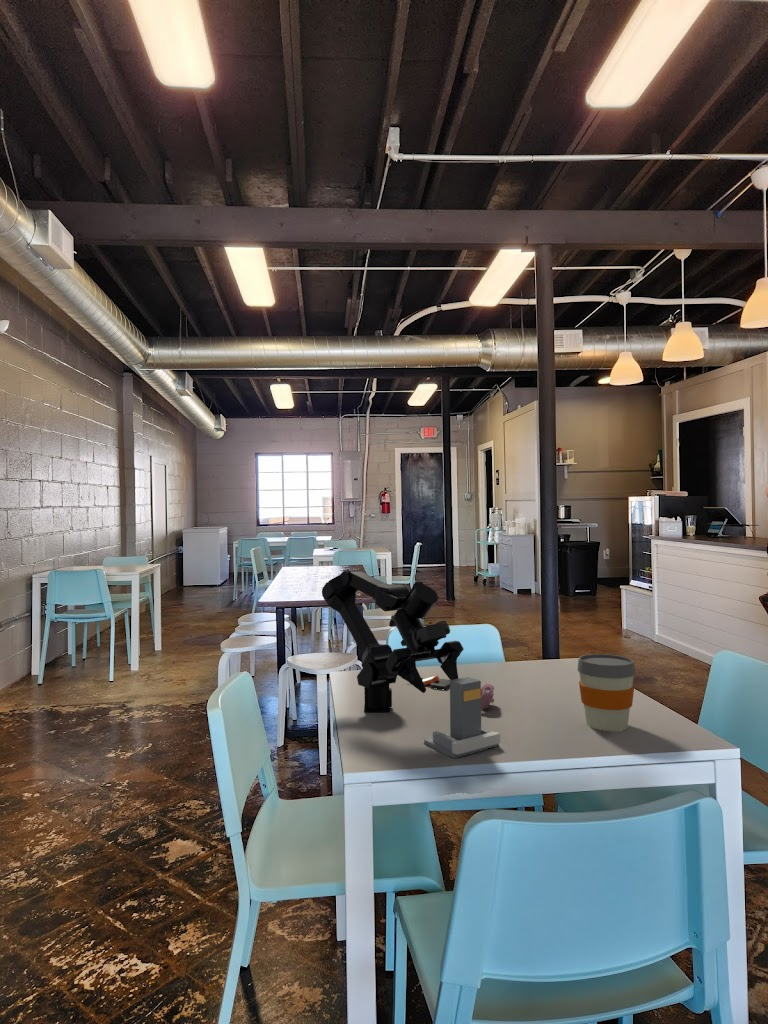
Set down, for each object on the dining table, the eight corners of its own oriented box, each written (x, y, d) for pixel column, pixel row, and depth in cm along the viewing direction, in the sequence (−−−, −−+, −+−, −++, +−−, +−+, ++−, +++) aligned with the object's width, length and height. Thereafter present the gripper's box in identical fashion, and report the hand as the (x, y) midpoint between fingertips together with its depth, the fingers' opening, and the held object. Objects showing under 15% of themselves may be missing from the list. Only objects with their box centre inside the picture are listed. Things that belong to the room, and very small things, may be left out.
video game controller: (485, 720, 153) (498, 694, 152) (468, 710, 153) (481, 685, 153) (486, 708, 162) (498, 684, 162) (470, 699, 163) (482, 676, 163)
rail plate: (424, 743, 132) (424, 730, 132) (467, 732, 139) (467, 720, 139) (456, 759, 123) (456, 744, 123) (500, 746, 130) (500, 733, 130)
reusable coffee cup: (645, 724, 143) (644, 659, 144) (621, 738, 134) (620, 668, 135) (593, 713, 152) (592, 651, 152) (568, 725, 143) (567, 659, 144)
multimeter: (382, 686, 180) (382, 674, 180) (404, 678, 190) (404, 666, 190) (437, 696, 170) (437, 683, 170) (457, 686, 180) (457, 674, 180)
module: (450, 742, 130) (449, 680, 131) (468, 738, 133) (468, 676, 133) (463, 748, 127) (463, 684, 127) (482, 743, 129) (481, 681, 130)
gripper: (392, 613, 136) (422, 674, 127) (458, 606, 147) (490, 662, 137) (373, 643, 143) (400, 703, 134) (437, 634, 153) (467, 689, 144)
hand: (441, 688), depth 137 cm, fingers open, 9 cm apart
